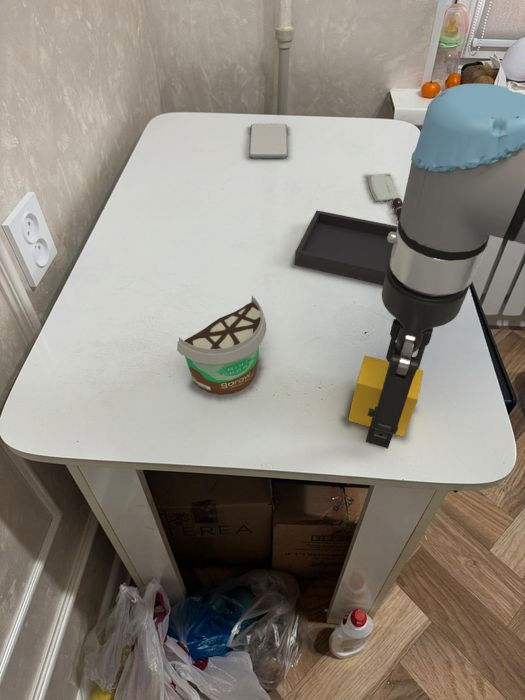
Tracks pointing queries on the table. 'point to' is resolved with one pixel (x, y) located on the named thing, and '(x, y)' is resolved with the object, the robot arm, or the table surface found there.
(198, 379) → the food container
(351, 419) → the yellow block
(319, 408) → the table surface
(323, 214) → the black shallow rectangular tray
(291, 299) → the table surface
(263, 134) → the rounded grey tile
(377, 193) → the cleaver
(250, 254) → the table surface
